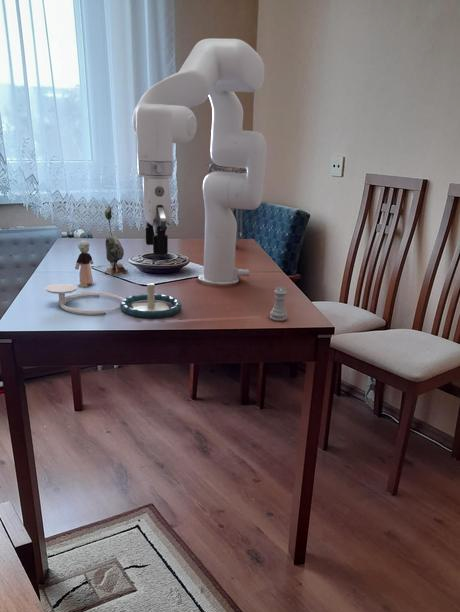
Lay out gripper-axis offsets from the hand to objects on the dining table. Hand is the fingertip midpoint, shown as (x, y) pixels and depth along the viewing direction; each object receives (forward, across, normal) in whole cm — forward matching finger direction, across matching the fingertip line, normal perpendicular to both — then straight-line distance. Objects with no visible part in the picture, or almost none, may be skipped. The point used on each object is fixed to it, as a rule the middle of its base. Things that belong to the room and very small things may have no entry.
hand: (156, 249), depth 129 cm
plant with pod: (+18, +46, +5) cm, 49 cm away
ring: (+15, +5, +1) cm, 16 cm away
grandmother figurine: (+18, +34, +15) cm, 41 cm away
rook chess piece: (+18, -4, -30) cm, 35 cm away
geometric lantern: (+19, +87, -44) cm, 100 cm away
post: (+17, +6, +1) cm, 18 cm away
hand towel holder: (+17, +13, +16) cm, 27 cm away
